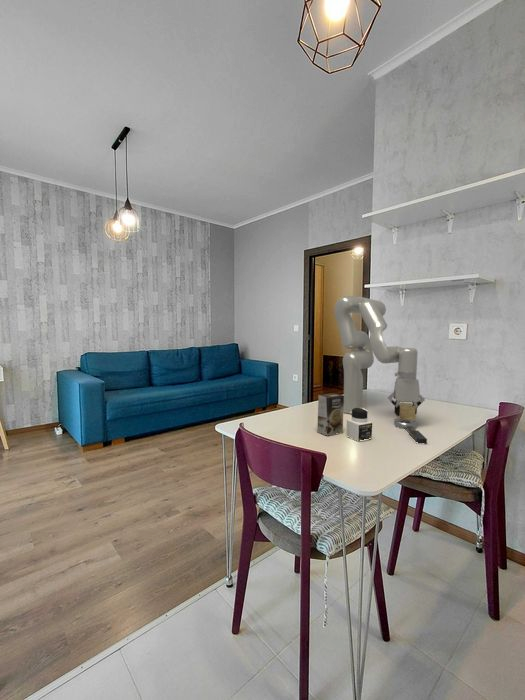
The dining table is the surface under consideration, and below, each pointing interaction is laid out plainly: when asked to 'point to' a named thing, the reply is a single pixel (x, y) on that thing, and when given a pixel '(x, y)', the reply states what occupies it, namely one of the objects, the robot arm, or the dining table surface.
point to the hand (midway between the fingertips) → (405, 415)
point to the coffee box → (330, 413)
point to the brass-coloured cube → (406, 411)
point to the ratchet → (410, 429)
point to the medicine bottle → (359, 425)
